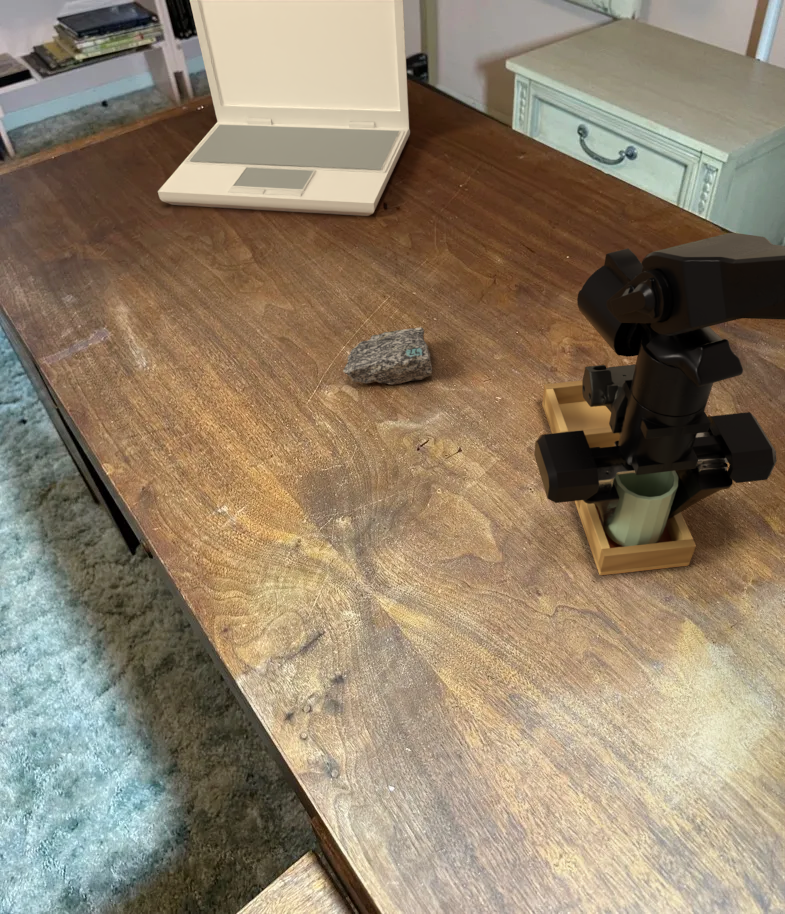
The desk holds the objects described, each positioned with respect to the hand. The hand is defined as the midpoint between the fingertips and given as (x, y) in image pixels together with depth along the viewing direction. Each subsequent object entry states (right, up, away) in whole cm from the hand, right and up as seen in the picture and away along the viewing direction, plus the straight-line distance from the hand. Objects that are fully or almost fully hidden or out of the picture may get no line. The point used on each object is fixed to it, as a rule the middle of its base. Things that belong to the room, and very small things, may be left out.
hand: (635, 518), depth 70 cm
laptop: (-39, +53, +57) cm, 87 cm away
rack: (-1, +4, +7) cm, 8 cm away
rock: (-22, +16, +20) cm, 34 cm away
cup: (0, -1, +1) cm, 1 cm away
